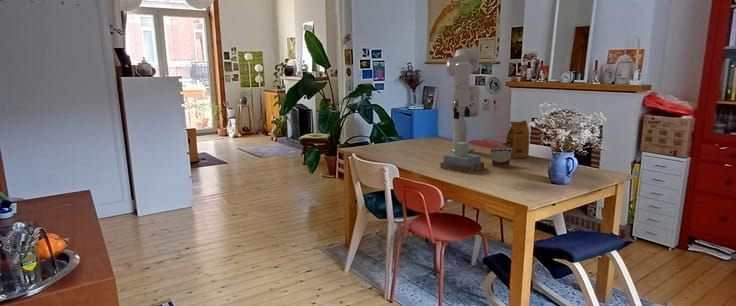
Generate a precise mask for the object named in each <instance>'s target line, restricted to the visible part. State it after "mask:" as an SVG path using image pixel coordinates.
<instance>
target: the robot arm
mask: <svg viewBox="0 0 736 306" xmlns="http://www.w3.org/2000/svg"><path fill="white" fill-rule="evenodd" d="M479 66H480V52H479V51H478V49H477V48H460V49H458V50H456V51H455V53H454V57H451V58H449V59H448V60H447V62H446V66H445V68H446V69H445V71H446V76H448V77H453V94H452V95H453V97H452V103H451V114H452V130H453V131H452V148H451V149H450V152H452V153H455V143H457V142H466V143H468V153H469V152H471V148H469V147H472V143H469V124H468V121H467V120H466V119H465V118H478V117H479V116H480V112H481V111H480V110H481V105H480V104H481V99H480V98H481V94H480V93H481V91H480V87H479V86H478V85H475V84H471V85H470V76H471V74H473V72H477V71H478V70H479Z"/></svg>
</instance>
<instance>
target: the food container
mask: <svg viewBox="0 0 736 306" xmlns="http://www.w3.org/2000/svg"><path fill="white" fill-rule="evenodd" d="M511 152H513V151H512V148H509V147H506V146H492V147H491V148H490V151H489V153H490V154H491V155H490V156H491V166H492V167H510V165H511V159H512V158H511Z"/></svg>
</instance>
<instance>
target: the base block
mask: <svg viewBox="0 0 736 306" xmlns="http://www.w3.org/2000/svg"><path fill="white" fill-rule="evenodd" d="M439 164H440V166H439V167H440V168H444V169H443V170H446V169H450V170H449V171H451V170H455V171H454V172H456V171H460V172H459V173H462V172H465V173H464V174H469V173H468V172H470V173H473V172H476V171H479V170H482V169H484V168H485V162H484V161H481V163H478V164H474V165H471V166H468V167H467V166H461V165H456V164H450V163H445V162H444V161H442V162H440V163H439ZM440 168H439V169H440ZM475 170H476V171H475ZM472 171H473V172H472Z"/></svg>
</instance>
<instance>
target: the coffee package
mask: <svg viewBox="0 0 736 306" xmlns="http://www.w3.org/2000/svg"><path fill="white" fill-rule="evenodd" d="M505 141H506V142H505V147H509V148H512V151H513V152H511V159H513V160H515V159H525V158H528V157H529V153H530V130H529V127H528V123H527V120H522V121H513V120H511V121H510V127H509V130H508V132H507V135H506V139H505Z"/></svg>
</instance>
